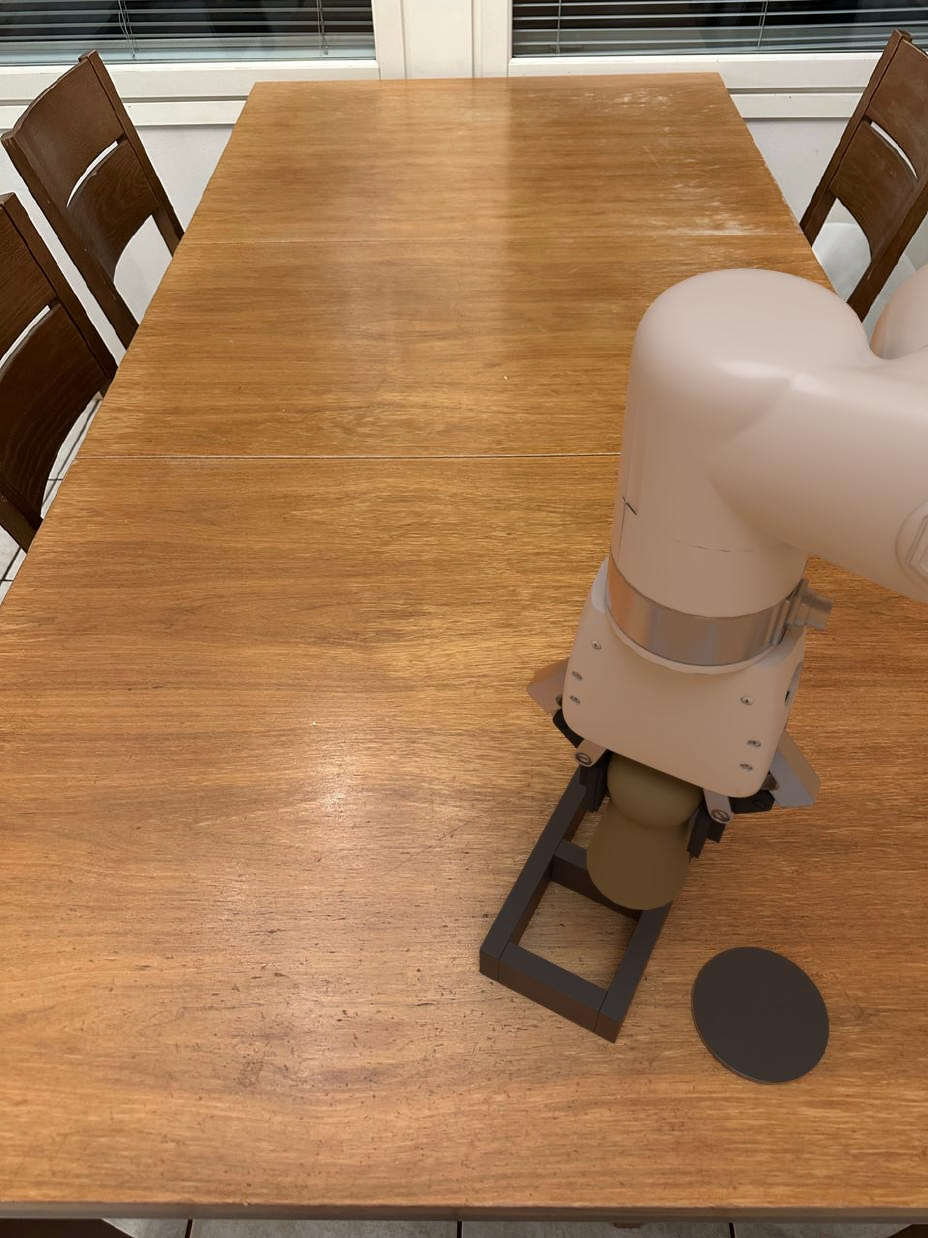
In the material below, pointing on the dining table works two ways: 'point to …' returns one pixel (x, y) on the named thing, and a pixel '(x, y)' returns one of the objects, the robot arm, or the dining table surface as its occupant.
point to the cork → (643, 835)
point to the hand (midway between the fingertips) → (650, 811)
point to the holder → (542, 977)
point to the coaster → (760, 1015)
